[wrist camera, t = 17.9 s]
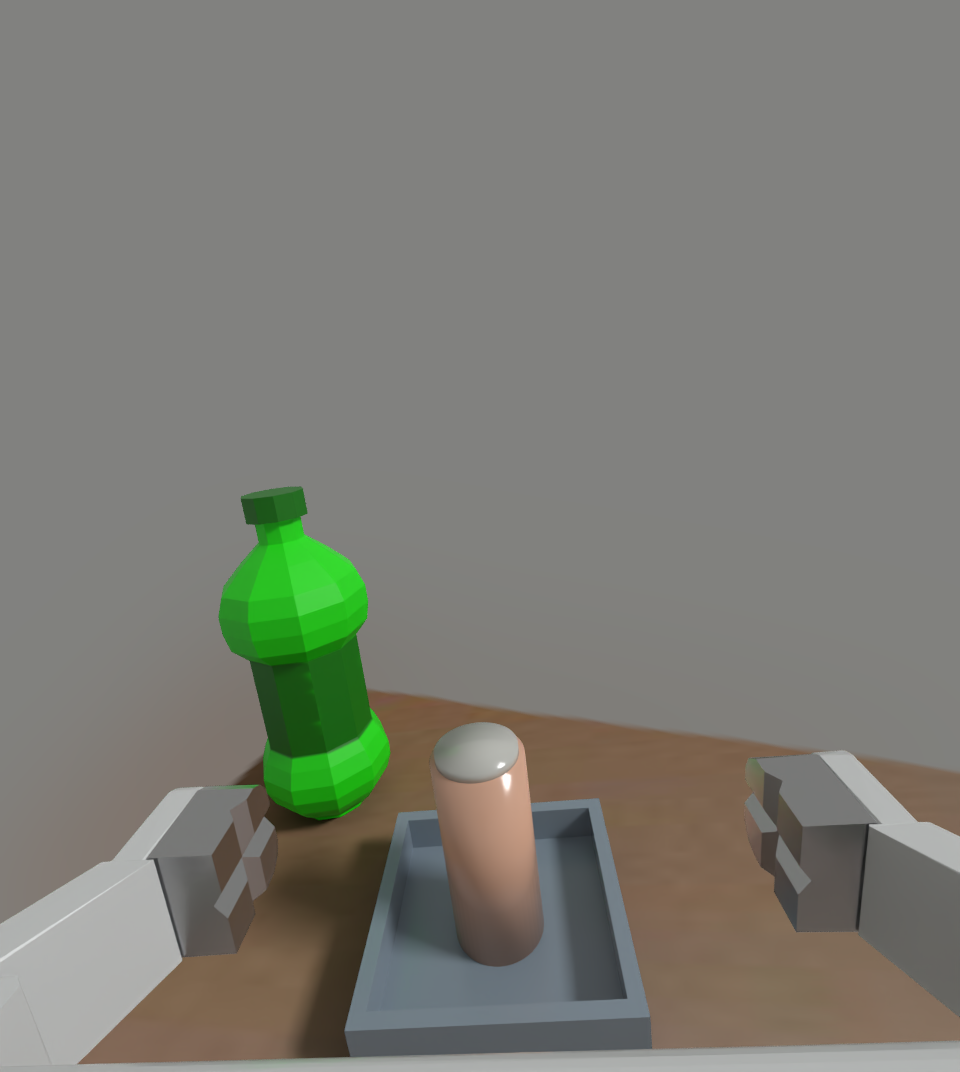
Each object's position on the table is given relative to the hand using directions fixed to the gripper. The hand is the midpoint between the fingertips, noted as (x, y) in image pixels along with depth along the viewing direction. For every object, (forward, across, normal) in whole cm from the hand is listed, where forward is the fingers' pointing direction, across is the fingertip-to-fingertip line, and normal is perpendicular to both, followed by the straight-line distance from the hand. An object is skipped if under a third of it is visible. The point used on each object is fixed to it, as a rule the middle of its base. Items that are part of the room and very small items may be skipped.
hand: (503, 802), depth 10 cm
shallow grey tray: (+17, +2, +23) cm, 29 cm away
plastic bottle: (+30, +15, +24) cm, 42 cm away
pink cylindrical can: (+17, +2, +23) cm, 29 cm away
